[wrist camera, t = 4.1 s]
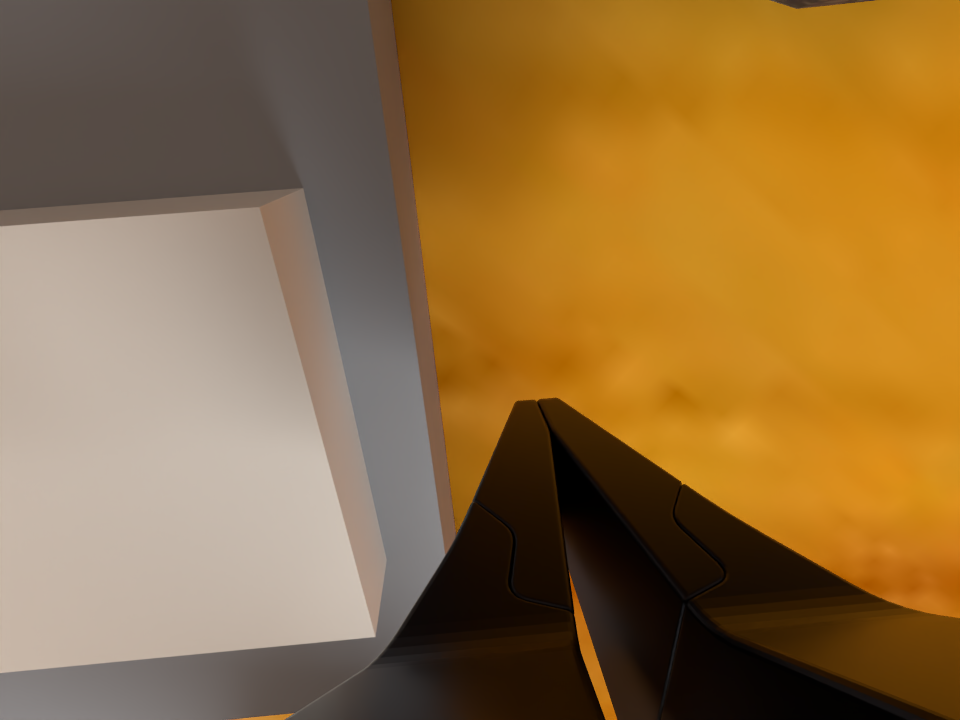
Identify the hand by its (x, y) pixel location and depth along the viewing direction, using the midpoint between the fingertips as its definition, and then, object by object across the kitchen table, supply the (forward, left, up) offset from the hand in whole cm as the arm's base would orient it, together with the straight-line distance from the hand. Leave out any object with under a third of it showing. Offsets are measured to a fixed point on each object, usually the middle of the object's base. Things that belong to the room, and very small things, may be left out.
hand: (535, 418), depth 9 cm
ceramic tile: (0, +8, -1) cm, 8 cm away
